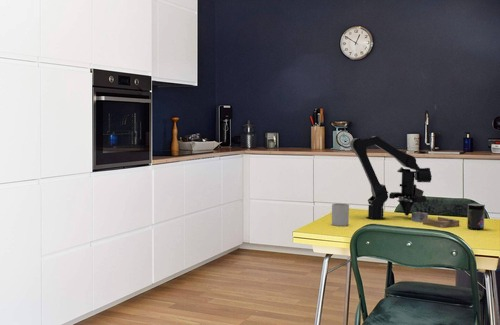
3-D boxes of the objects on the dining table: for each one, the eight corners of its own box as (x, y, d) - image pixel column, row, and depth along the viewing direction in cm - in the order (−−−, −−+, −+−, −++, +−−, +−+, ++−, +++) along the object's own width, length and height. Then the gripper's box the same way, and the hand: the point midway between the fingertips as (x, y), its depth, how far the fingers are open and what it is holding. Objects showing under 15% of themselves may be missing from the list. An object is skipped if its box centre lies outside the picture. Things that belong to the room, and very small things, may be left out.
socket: (419, 222, 283) (419, 213, 283) (411, 221, 287) (411, 212, 287) (427, 222, 285) (427, 212, 285) (419, 220, 290) (419, 211, 290)
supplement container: (476, 231, 261) (477, 206, 261) (463, 228, 267) (464, 204, 266) (487, 229, 265) (488, 205, 264) (474, 227, 270) (475, 203, 270)
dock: (442, 227, 268) (442, 220, 268) (422, 224, 278) (423, 217, 278) (459, 226, 273) (459, 219, 273) (439, 222, 283) (439, 215, 283)
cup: (333, 226, 268) (334, 205, 267) (328, 222, 278) (329, 202, 277) (350, 226, 268) (350, 205, 268) (344, 222, 278) (345, 202, 278)
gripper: (435, 183, 288) (434, 217, 289) (406, 180, 304) (405, 212, 305) (417, 184, 283) (416, 218, 284) (388, 180, 299) (387, 213, 300)
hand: (406, 215), depth 293 cm, fingers closed
